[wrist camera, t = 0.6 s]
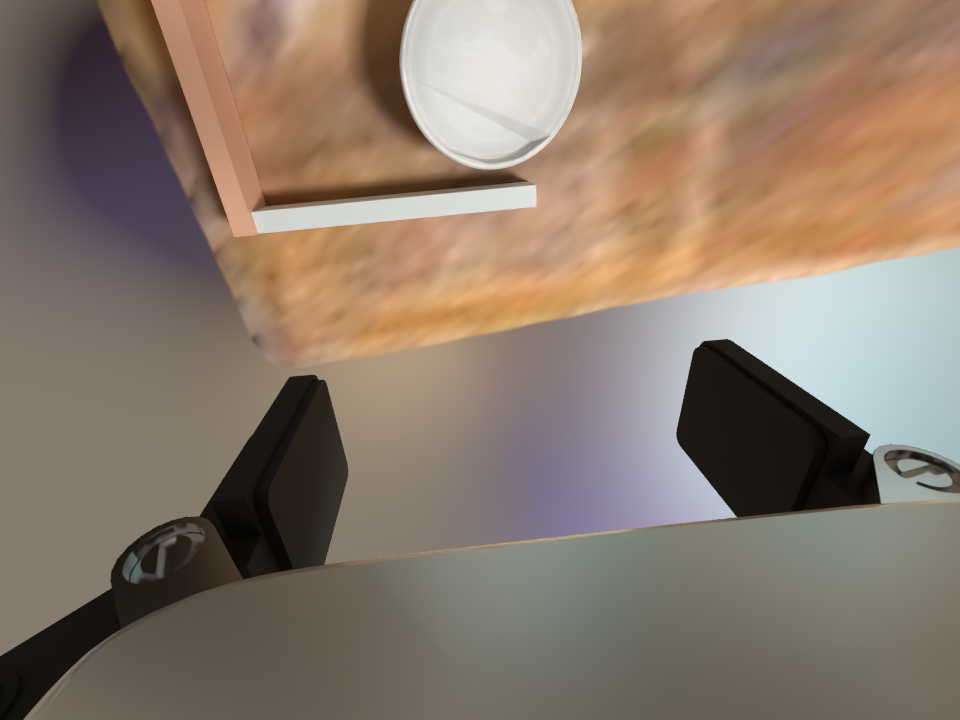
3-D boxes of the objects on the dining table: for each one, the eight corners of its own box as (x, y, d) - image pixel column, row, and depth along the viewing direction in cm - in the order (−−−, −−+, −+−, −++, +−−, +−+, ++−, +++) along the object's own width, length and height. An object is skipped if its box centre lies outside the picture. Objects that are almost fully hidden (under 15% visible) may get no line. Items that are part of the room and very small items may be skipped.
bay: (157, -65, 25) (118, -94, 22) (521, -90, 26) (533, -121, 23) (253, 227, 33) (234, 237, 30) (528, 201, 34) (537, 207, 31)
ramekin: (429, 180, 33) (428, 187, 28) (382, 0, 27) (371, -29, 23) (569, 145, 32) (591, 146, 28) (549, -44, 27) (573, -82, 22)
